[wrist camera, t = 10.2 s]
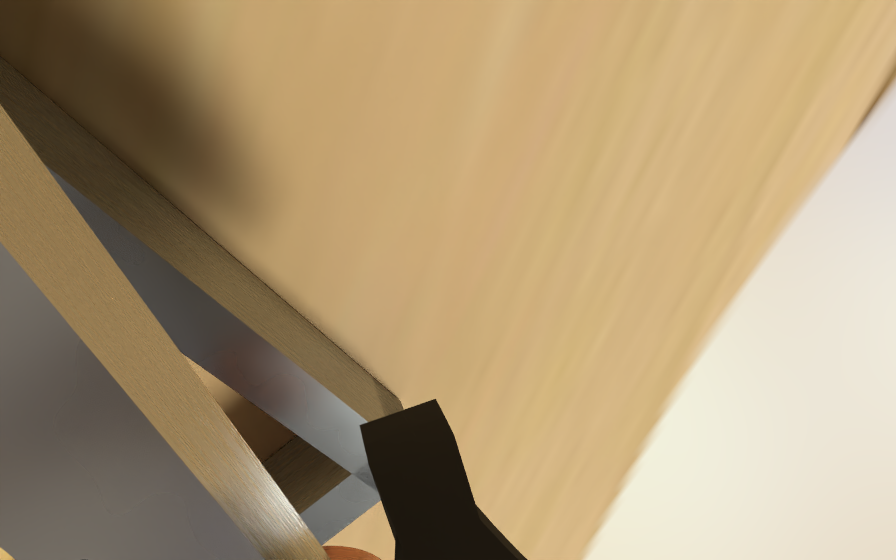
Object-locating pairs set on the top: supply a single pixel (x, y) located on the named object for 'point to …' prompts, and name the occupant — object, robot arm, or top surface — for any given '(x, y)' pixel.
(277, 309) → the tray
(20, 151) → the press arm
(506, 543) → the robot arm
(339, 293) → the top surface
